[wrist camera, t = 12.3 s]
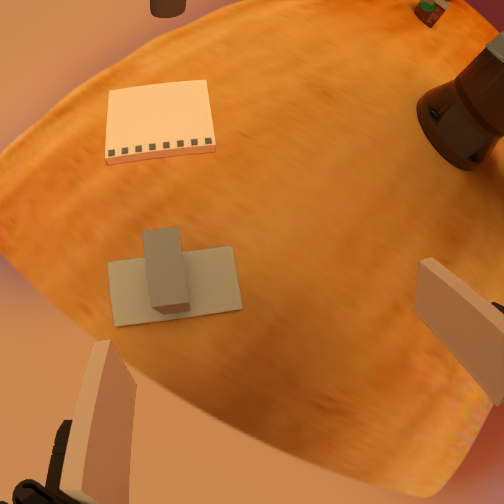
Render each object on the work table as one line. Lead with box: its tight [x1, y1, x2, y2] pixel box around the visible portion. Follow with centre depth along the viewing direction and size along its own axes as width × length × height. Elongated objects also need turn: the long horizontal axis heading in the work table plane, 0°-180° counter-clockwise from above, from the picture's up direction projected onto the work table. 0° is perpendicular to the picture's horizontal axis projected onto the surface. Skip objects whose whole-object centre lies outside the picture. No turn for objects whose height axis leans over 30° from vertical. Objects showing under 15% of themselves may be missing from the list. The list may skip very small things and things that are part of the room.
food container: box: [414, 0, 450, 28], centre depth 51 cm, size 12×6×10 cm, turn 157°
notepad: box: [105, 80, 216, 165], centre depth 33 cm, size 10×12×2 cm
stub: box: [108, 227, 243, 327], centre depth 25 cm, size 6×12×10 cm, turn 100°
